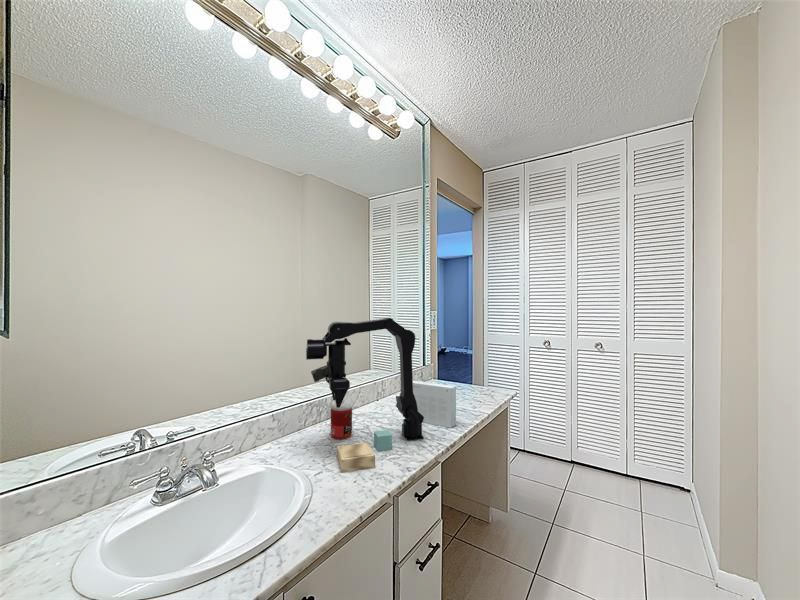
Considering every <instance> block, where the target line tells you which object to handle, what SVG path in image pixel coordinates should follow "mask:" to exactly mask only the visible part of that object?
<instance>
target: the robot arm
mask: <svg viewBox="0 0 800 600" xmlns="http://www.w3.org/2000/svg"><path fill="white" fill-rule="evenodd" d="M382 330H387V332H389V333H390V334H391V336H393V337H394V339H395V343H396V346H397V350H398V354H399V368H400V369H399V371H400V393H399V395H395V399H396V404H395V407H396V408H397V410H398V412H399V413H400V414H401V415H402V417H403V418H402V419H403V420H402V421H403V422H402V424H401V435H402V436H403V437H404V439H405V440H406V441H413V440H414V441H415V440H422V439H424V438H425V437H424V436H423V427H422V426H423V423H424V422H423V420H424V417H423V416H422V415H421V414H420V413H419V412H418V407H417V402H416V399H415V396H414V394H413V381H414V380H413V352H414V349H415V344H416V334H415V333H414V332H413V330H411V329H406V328H405V327H404V326H402V325H400V323H397V322H396V321H395V320H394V319H393V318H391V317H384V318H380V319H379V318H378V319H377V318H376V319H373V320H372V319H370V320H363V321H357V322H355V321H354V322H345V321H333V322H331V323H330V324H329V325H328V327H327V332H326V334H325V335H324V336H323V337H322V339H311V338H310V339H306V347H305V359H306V360H307V361H308V360H311V361H312V360H324V358H326V356H328V358H327V359H328V360H327V361H326V365H324V366H323V365H322V366H320V367H318V368H316V369H315V368H314V369H313V370H311V371H310V373H311V375H312V379H313V381H314V383H316V382H319V381H320V380H322V379H325V381H326V383H327V384H328V385H329V389H330V391H331V397H332V400H333V401H335V402H334V403H335V404H336V407H337V408H339V407H340V406H341V404H342V403H343V401H344V398H345V397H346V394H347V392H348V390H349V389H350V387H351V382H350V380H349V379H348V378H347V373H346V365H347V362H346V346H351V345H352V343H351V342H350V341H349V340H348V338H349V337H350V336H353V335H356V334H360V333H365V332H366V333H367V332H374V331H382ZM347 337H348V338H347ZM332 342H333V343H332Z"/></svg>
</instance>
